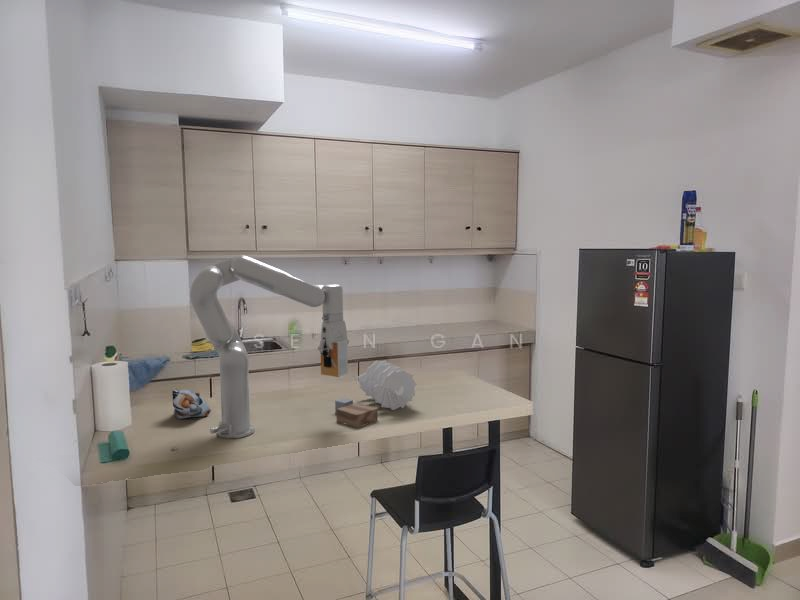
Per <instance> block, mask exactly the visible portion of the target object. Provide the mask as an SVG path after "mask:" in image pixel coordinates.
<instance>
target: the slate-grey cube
mask: <svg viewBox="0 0 800 600" xmlns="http://www.w3.org/2000/svg"><path fill="white" fill-rule="evenodd" d="M334 401H335V402H334V403H335V404H334V409H335V410H334V411H335V412H334V413H336V414H337V409H338V408H341V407H345V406H348V405H351V404H354V400H353V399H349V398H345V397H343V398H339V399H336V400H334Z"/></svg>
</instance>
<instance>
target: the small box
mask: <svg viewBox="0 0 800 600" xmlns="http://www.w3.org/2000/svg"><path fill="white" fill-rule="evenodd" d="M319 342H320V343H321V340H320V341H319ZM325 345H326V344H325ZM326 348H327V346H326ZM323 349H324V348H323ZM326 352H328V350H326ZM330 357H331V367H330V368H329V367H324V356H322V354H321V353H320V374H321V375H322V376H330V377H336V378H340V377H342V376H345V375H347V374H349V372H348V369H349V368H348V367H349V366H348V362H349V361H348V345H347V340H341V341H337V342H334V349H333V350H331V353H330Z"/></svg>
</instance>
